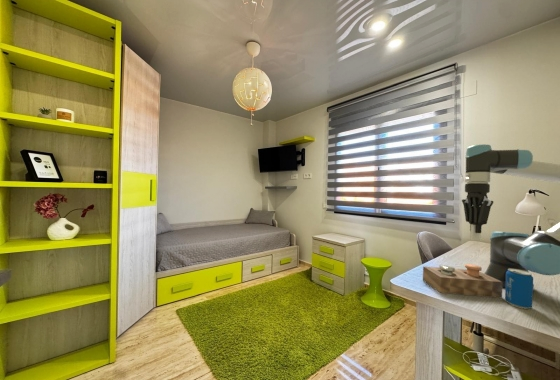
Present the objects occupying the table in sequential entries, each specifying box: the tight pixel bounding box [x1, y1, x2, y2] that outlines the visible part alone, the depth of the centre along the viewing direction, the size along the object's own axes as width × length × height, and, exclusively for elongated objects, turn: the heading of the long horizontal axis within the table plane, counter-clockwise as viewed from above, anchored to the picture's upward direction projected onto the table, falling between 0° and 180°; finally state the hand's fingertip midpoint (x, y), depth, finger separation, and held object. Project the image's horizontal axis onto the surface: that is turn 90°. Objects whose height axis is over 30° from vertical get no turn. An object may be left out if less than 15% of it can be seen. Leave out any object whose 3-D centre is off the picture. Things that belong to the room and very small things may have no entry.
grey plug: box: [438, 264, 456, 275], centre depth 89 cm, size 5×5×7 cm
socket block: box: [422, 265, 503, 299], centre depth 88 cm, size 22×12×6 cm, turn 84°
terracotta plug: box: [464, 263, 482, 277], centre depth 88 cm, size 5×5×7 cm
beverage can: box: [504, 269, 534, 310], centre depth 76 cm, size 6×6×12 cm
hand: (475, 240), depth 88 cm, fingers closed
